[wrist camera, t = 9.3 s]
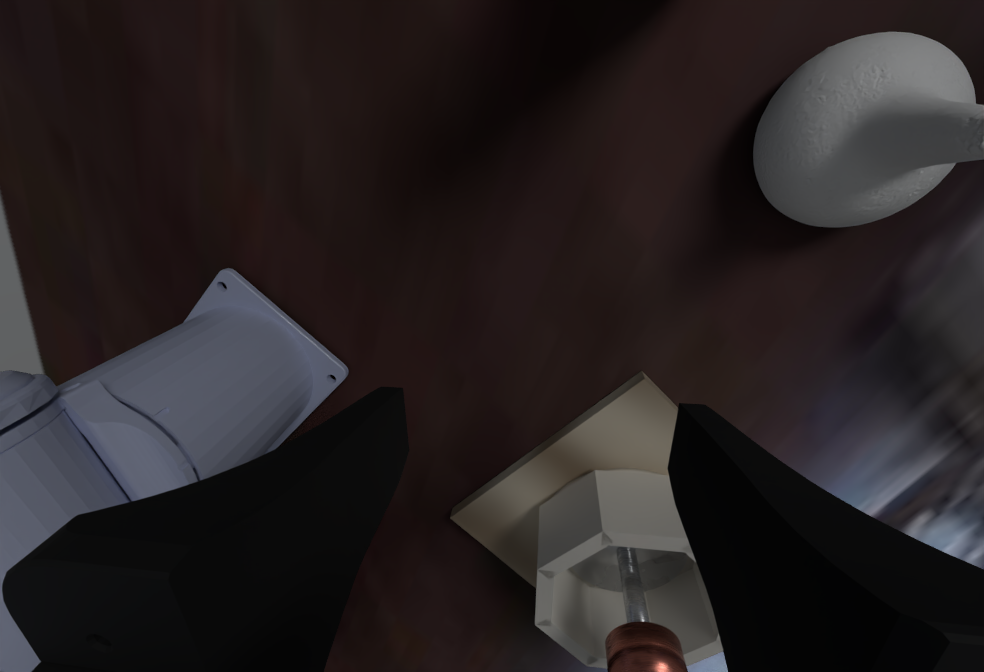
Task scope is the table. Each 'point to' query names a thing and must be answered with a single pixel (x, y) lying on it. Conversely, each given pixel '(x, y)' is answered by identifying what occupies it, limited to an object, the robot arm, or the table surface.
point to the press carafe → (627, 523)
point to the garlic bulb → (866, 130)
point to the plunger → (637, 606)
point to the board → (569, 469)
